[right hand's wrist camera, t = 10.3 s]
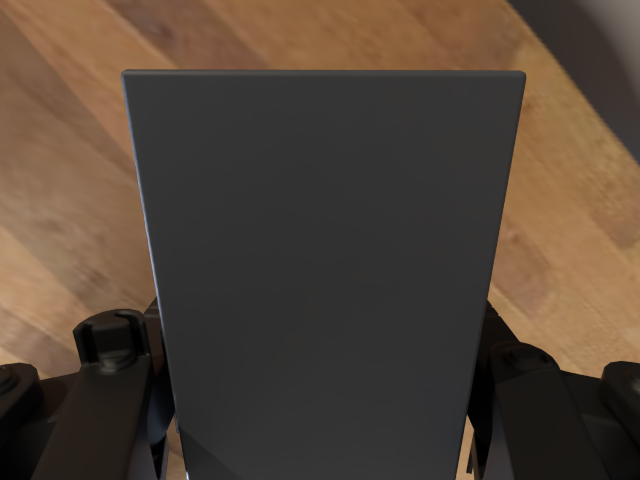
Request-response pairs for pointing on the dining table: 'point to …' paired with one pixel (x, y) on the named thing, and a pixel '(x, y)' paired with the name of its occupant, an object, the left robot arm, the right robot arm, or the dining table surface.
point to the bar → (322, 260)
